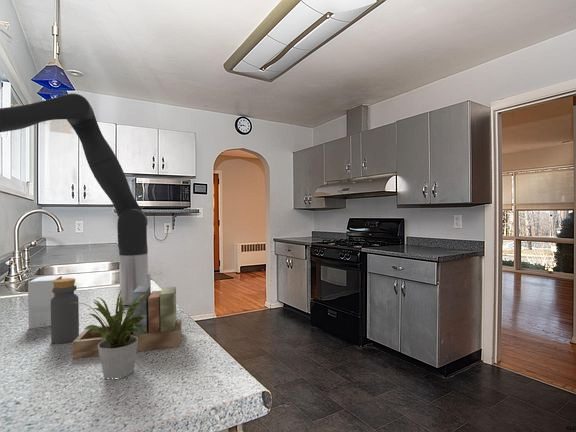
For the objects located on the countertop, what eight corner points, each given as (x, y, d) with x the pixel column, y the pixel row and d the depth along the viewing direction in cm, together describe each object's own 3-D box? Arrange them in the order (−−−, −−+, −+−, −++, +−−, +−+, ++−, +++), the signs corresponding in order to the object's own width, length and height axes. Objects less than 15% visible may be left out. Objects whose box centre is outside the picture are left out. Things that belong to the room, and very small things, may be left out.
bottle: (49, 345, 81) (48, 283, 81) (53, 337, 86) (52, 279, 86) (78, 341, 83) (77, 280, 83) (80, 333, 89) (79, 276, 89)
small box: (54, 326, 95) (54, 280, 95) (27, 328, 93) (27, 282, 93) (63, 317, 103) (62, 275, 103) (38, 320, 101) (37, 277, 101)
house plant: (59, 403, 56) (57, 304, 56) (74, 368, 68) (73, 288, 68) (152, 384, 61) (151, 294, 61) (150, 355, 74) (149, 281, 74)
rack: (72, 358, 73) (71, 297, 73) (87, 341, 83) (86, 288, 83) (179, 346, 79) (178, 290, 79) (181, 332, 88) (180, 282, 88)
